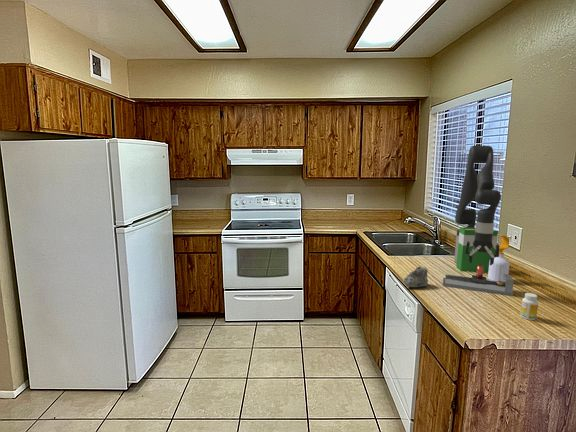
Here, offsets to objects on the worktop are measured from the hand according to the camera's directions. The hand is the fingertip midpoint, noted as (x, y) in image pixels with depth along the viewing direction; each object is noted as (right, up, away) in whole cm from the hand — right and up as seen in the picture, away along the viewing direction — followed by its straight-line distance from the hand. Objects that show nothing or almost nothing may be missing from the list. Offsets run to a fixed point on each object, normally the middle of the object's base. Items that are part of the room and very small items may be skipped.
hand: (480, 263), depth 169 cm
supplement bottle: (+3, -18, -30) cm, 35 cm away
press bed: (-1, -12, +2) cm, 12 cm away
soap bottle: (+17, -11, +14) cm, 24 cm away
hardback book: (+13, -8, +30) cm, 34 cm away
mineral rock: (-30, -12, +4) cm, 33 cm away
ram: (0, -10, +2) cm, 11 cm away
